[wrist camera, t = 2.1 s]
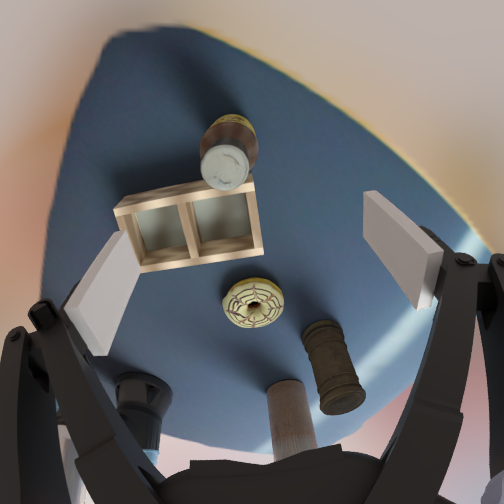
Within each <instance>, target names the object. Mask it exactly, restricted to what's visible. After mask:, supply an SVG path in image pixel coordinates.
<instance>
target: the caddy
mask: <svg viewBox="0 0 504 504" xmlns="http://www.w3.org/2000/svg"><path fill="white" fill-rule="evenodd" d="M113 210H114V213H115V217H116V220H117V223H118V226H119V229H120V231H122V230H126V231H127V234H128V237H129V240H130V243H131V245H132V248H133V251H134V254H135V256H136V259H137V262H138V264H139V267H140V269H141V272H140V273H145V272H152V271H158V270H165V269H172V268H179V267H185V266H192V265H198V264H205V263H212V262H218V261H225V260H232V259H238V258H245V257H251V256H258V255H264V251H263V244H262V237H261V230H260V223H259V216H258V209H257V203H256V196H255V189H254V182H253V178H252V173H251V172H249V174H248V177H247V178H246V180H245V182H244V183H243V184H242V185H240V186H239V187H238V188H235V189H233V190H229V191H222V190H217V189H214V188H212V187H210V186H209V185H208V184H207V183H206V182H205V181H204V180H200V181H194V182H189V183H184V184H179V185H174V186H169V187H164V188H159V189H155V190H150V191H146V192H141V193H137V194H133V195H128V196H125V197H124V198H123V199H122V200H121V201H120V202H119V203H118V204H117V206H116V207H115V208H114V209H113Z"/></svg>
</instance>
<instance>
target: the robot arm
mask: <svg viewBox="0 0 504 504" xmlns="http://www.w3.org/2000/svg"><path fill="white" fill-rule="evenodd" d="M363 237H364V239H365V240H366V241H367V243H368V244H369V245H370V247H371V248H372V249H373V250H374V252H375V253H376V254H377V256H378V257H379V258H380V260H381V261H382V263H383V264H384V265H385V267H386V268H387V269H388V271H389V272H390V273H391V275H392V276H393V278H394V279H395V280H396V282H397V283H398V285H399V286H400V288H401V289H402V290H403V292H404V293H405V295H406V296H407V298H408V299H409V301H410V302H411V304H412V305H413V306H414V308H415V309H416V311H417V310H421V309H424V308H428V307H431V304H432V300H433V297H434V296H435V297H436V298H437V300H438V305H437V308H436V311H435V315H434V318H433V324H432V328H431V331H430V335H429V339H428V342H427V345H426V349H425V352H424V355H423V358H422V361H421V364H420V367H419V370H418V373H417V376H416V379H415V382H414V385H413V387H412V390H411V393H410V395H409V398H408V400H407V403H406V405H405V408H404V410H403V413H402V415H401V417H400V420H399V422H398V424H397V426H396V429H395V431H394V433H393V435H392V437H391V439H390V441H389V443H388V445H387V447H386V449H385V451H384V452H383V454H382V456H381V458H380V459H377V458H375V457H373V456H370V455H367V454H363V453H358V452H350V451H342V448H341V444H336V445H331V446H326V447H322V448H316V449H311V450H306V451H302V452H300V453H297V454H295V455H292V456H289V457H287V458H284V459H281V460H279V461H276V462H273V463H270V464H267V465H258V464H251V463H244V462H237V461H231V460H190V469H186V470H183V471H181V472H178V473H176V474H174V475H171V476H170V477H168V478H167V479H166V478H165V477H164V476H163V475H162V474H161V473H160V472H159V471H158V470H157V469H156V467H155V466H156V463H157V457H158V454H159V442H160V434H161V426H162V419H163V417H164V415H165V414H166V412H167V410H168V408H169V406H170V405H171V402H172V395H173V393H172V390H171V388H170V387H169V386H168V385H167V384H166V383H165V382H163V381H162V380H160V379H158V378H156V377H154V376H151V375H148V374H144V373H137V372H130V373H125V374H122V375H120V376H119V377H118V379H117V382H116V386H115V392H116V402H117V409H115V407H114V405H113V403H112V402H111V400H110V398H109V397H108V395H107V393H106V391H105V390H104V388H103V386H102V384H101V382H100V380H99V379H98V377H97V375H96V373H95V371H94V369H93V367H92V365H91V363H90V361H89V359H88V357H87V356H86V355H85V351H86V349H87V347H88V348H89V350H90V351H91V353H92V354H93V356H107V355H108V353H109V350H110V347H111V344H112V342H113V339H114V336H115V334H116V331H117V328H118V326H119V323H120V321H121V318H122V315H123V313H124V310H125V308H126V305H127V303H128V301H129V298H130V296H131V293H132V291H133V289H134V286H135V284H136V282H137V279H138V277H139V275H140V272H141V269H140V267H139V264H138V262H137V259H136V256H135V254H134V251H133V248H132V245H131V243H130V240H129V237H128V234H127V231H126V230H122V231H118V232H114V233H113V235H112V236H111V237H110V239H109V240H108V242H107V243H106V244H105V246H104V247H103V249H102V250H101V251H100V253H99V254H98V256H97V257H96V259H95V260H94V262H93V263H92V265H91V266H90V268H89V269H88V271H87V272H86V274H85V275H84V277H83V278H82V279H81V280H80V281H79V282H78V283H77V284H76V285H74V287H73V288H72V290H71V291H70V294H69V295H68V296H67V299H65V301H64V303H63V304H62V306H61V308H60V309H59V311H57V309H56V307H55V306H54V304H53V302H52V301H51V299H43V300H40V301H38V302H37V303H36V304H34V305H33V306H32V307H31V308H30V310H29V312H28V317H29V319H30V320H31V322H32V323H33V325H34V326H35V328H36V329H37V331H35V332H32V333H29V334H28V332H27V331H26V329H25V328H24V327H23V326H19V327H16V328H14V329H12V330H11V331H10V332H9V333H8V335H7V336H6V339H5V342H4V346H3V351H2V356H1V362H0V504H85V494H86V489H87V491H88V492H89V494H90V496H91V498H92V500H93V502H94V503H95V504H455V503H454V502H452V501H450V500H448V499H446V498H444V497H442V496H440V495H439V494H438V492H439V489H440V487H441V485H442V482H443V480H444V477H445V475H446V472H447V469H448V467H449V464H450V461H451V458H452V455H453V452H454V449H455V446H456V443H457V439H458V436H459V433H460V430H461V426H462V422H463V413H461V412H460V408H461V403H462V399H463V394H464V390H465V386H466V381H467V376H468V370H469V364H470V358H471V352H472V345H473V336H474V328H475V318H476V315H477V320H478V324H479V329H480V334H481V340H482V346H483V353H484V360H485V368H486V376H487V386H488V399H489V417H490V418H489V420H490V448H489V450H490V451H489V456H490V458H489V459H490V462H489V463H490V464H489V465H490V478H491V480H490V481H489V483H488V485H487V486H486V489H485V492H484V494H483V496H482V497H481V504H504V254H500V253H497V254H493V255H492V256H491V258H490V262H489V264H477V261H476V260H475V259H474V258H473V257H472V256H470V255H468V254H465V253H460V252H458V253H455V252H454V251H453V250H452V249H451V248H449V247H448V246H447V245H446V244H445V243H444V242H443V241H441V239H440V238H439V237H438V236H437V237H436V235H435V234H434V233H433V232H432V231H431V230H429V229H427V228H425V227H423V226H417V225H416V224H415V223H414V222H413V221H412V220H410V219H409V218H408V217H407V216H406V215H405V214H404V213H402V212H401V211H400V210H399V209H398V208H397V207H395V206H394V205H393V204H392V203H391V202H389V201H388V200H387V199H386V198H385V197H383V196H382V195H381V194H380V193H378V192H377V191H367V192H364V205H363Z"/></svg>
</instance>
